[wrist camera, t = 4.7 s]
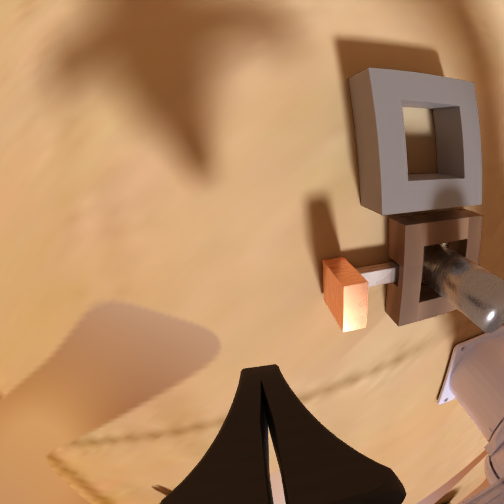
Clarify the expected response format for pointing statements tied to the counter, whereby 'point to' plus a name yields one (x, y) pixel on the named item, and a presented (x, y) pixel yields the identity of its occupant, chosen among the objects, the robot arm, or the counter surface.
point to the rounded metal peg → (465, 286)
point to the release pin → (353, 289)
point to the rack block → (394, 143)
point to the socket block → (411, 259)
